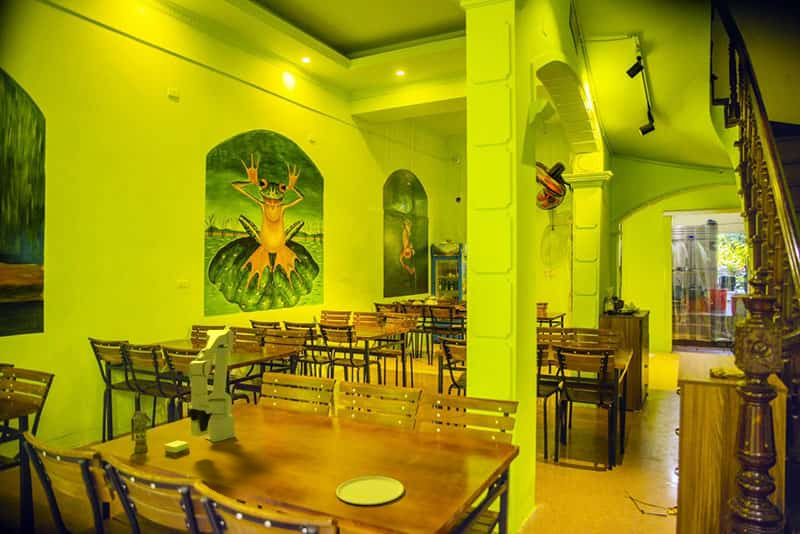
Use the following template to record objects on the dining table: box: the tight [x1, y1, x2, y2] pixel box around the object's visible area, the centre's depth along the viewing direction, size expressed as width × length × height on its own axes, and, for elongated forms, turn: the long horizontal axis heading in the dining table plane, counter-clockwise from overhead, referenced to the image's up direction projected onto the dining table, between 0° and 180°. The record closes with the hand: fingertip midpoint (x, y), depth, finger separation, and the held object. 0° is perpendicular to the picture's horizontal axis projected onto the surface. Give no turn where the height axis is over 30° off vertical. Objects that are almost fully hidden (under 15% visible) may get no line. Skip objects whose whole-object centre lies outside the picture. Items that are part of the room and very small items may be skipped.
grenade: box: [130, 410, 152, 454], centre depth 209 cm, size 7×7×15 cm
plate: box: [335, 475, 405, 506], centre depth 166 cm, size 21×21×1 cm
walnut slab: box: [164, 447, 190, 457], centre depth 206 cm, size 6×6×2 cm
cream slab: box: [163, 439, 189, 453], centre depth 206 cm, size 6×6×2 cm
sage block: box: [190, 420, 209, 438], centre depth 203 cm, size 4×4×5 cm
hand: (200, 429), depth 203 cm, fingers closed on sage block, 4 cm apart
